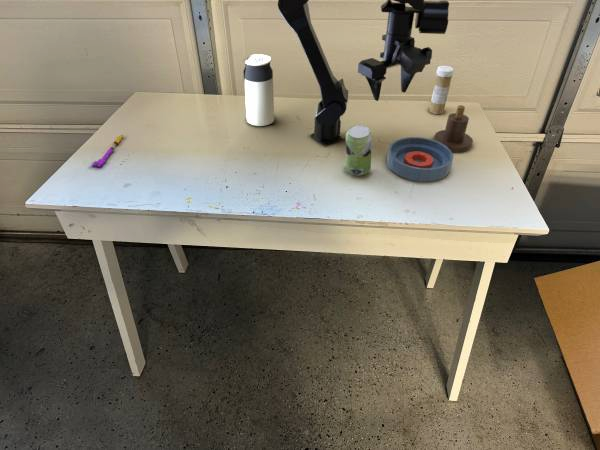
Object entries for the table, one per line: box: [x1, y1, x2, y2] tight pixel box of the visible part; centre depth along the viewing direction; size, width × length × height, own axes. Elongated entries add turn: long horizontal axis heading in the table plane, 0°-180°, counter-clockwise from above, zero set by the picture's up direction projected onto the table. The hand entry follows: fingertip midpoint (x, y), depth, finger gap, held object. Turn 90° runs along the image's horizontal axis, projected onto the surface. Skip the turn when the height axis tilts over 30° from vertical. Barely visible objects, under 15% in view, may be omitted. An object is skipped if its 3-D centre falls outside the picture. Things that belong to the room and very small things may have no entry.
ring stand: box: [433, 104, 474, 154], centre depth 118 cm, size 10×10×11 cm
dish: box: [386, 136, 454, 182], centre depth 111 cm, size 16×16×4 cm
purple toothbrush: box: [91, 134, 124, 168], centre depth 116 cm, size 3×1×16 cm
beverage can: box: [345, 124, 373, 176], centre depth 106 cm, size 6×7×12 cm
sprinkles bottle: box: [428, 65, 455, 115], centre depth 132 cm, size 5×5×14 cm
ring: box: [404, 151, 434, 168], centre depth 112 cm, size 7×7×2 cm
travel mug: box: [243, 53, 275, 127], centre depth 125 cm, size 8×8×18 cm
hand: (390, 96), depth 114 cm, fingers open, 9 cm apart
